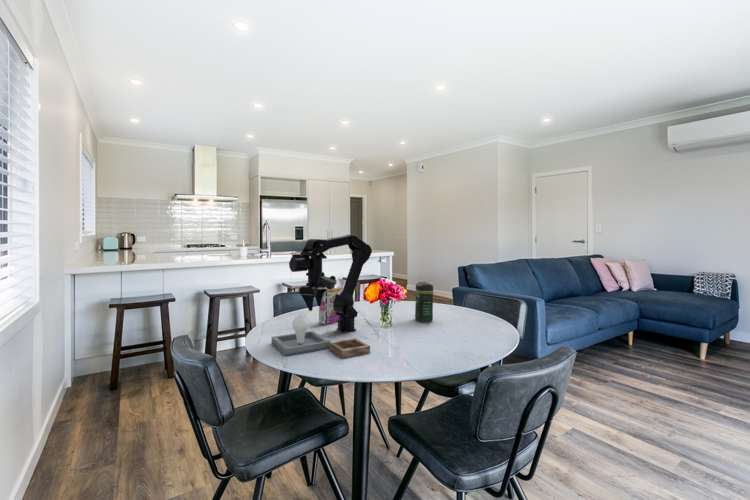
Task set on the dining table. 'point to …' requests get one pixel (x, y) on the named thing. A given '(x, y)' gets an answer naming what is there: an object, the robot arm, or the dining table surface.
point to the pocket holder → (358, 350)
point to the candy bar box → (329, 307)
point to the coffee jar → (424, 302)
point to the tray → (291, 347)
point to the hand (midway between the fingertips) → (315, 308)
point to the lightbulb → (300, 327)
